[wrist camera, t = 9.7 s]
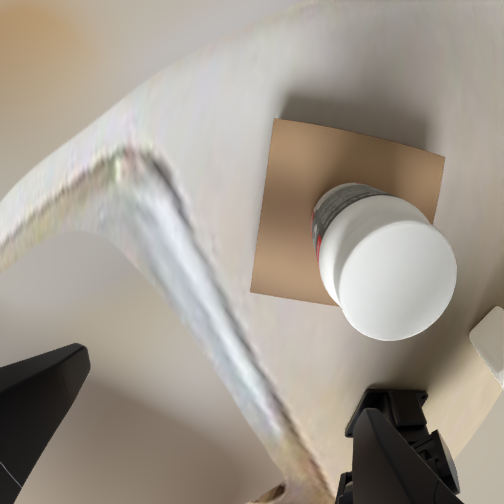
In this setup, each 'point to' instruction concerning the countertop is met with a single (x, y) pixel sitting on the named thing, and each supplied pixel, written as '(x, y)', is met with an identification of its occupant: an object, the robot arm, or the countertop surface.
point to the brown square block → (315, 186)
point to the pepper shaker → (491, 342)
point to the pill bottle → (382, 261)
